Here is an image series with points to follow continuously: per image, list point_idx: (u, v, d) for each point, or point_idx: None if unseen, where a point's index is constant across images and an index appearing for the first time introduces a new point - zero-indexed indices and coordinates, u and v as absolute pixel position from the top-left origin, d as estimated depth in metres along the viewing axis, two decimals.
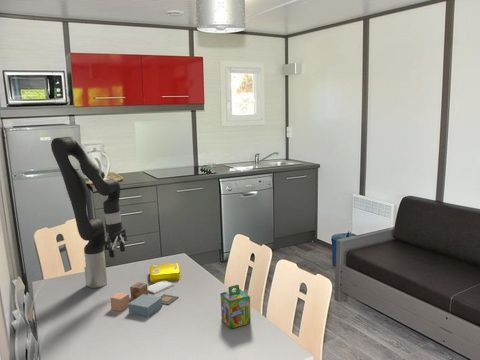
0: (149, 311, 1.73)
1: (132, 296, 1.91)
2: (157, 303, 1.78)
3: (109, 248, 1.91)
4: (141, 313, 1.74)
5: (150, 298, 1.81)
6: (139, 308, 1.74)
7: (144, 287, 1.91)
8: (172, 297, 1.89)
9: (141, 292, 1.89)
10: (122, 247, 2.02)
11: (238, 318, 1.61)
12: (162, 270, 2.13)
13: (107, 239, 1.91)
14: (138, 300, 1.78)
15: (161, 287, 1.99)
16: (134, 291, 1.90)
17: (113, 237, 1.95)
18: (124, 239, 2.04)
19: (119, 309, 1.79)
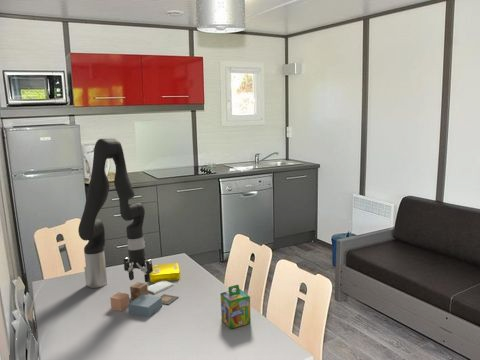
0: (149, 311, 1.73)
1: (132, 296, 1.91)
2: (157, 303, 1.79)
3: (152, 270, 1.89)
4: (141, 313, 1.74)
5: (149, 298, 1.81)
6: (139, 308, 1.74)
7: (144, 287, 1.91)
8: (172, 297, 1.89)
9: (141, 292, 1.89)
10: (132, 275, 1.93)
11: (238, 318, 1.61)
12: (162, 270, 2.13)
13: (150, 261, 1.88)
14: (138, 301, 1.78)
15: (161, 287, 1.99)
16: (134, 291, 1.90)
17: None
18: (128, 267, 1.94)
19: (119, 309, 1.79)
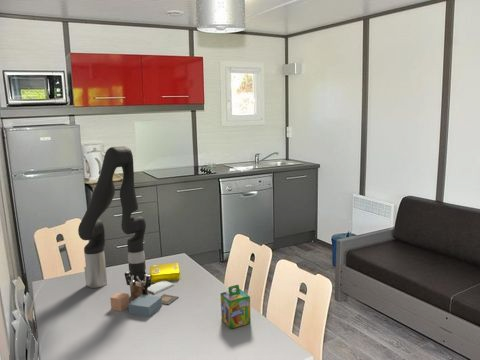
0: (150, 311, 1.73)
1: (132, 296, 1.91)
2: (157, 302, 1.79)
3: (150, 284, 1.91)
4: (142, 313, 1.74)
5: (149, 298, 1.81)
6: (139, 308, 1.74)
7: None
8: (172, 297, 1.89)
9: (141, 292, 1.89)
10: None
11: (238, 318, 1.61)
12: (162, 270, 2.13)
13: (150, 277, 1.89)
14: (138, 301, 1.78)
15: (161, 287, 1.99)
16: (134, 290, 1.90)
17: None
18: (131, 281, 1.94)
19: (119, 309, 1.79)
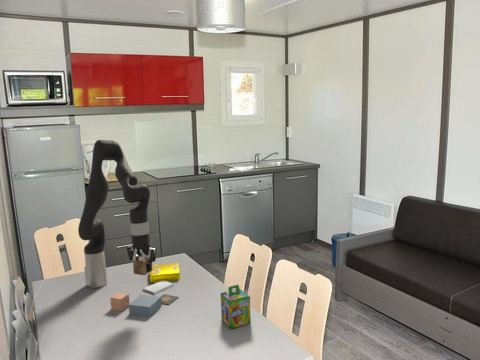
0: (151, 311, 1.74)
1: (135, 271, 1.75)
2: (157, 302, 1.79)
3: (155, 259, 1.74)
4: (142, 313, 1.74)
5: (149, 298, 1.81)
6: (140, 308, 1.74)
7: None
8: (172, 297, 1.89)
9: (145, 267, 1.73)
10: None
11: (238, 318, 1.61)
12: (162, 270, 2.13)
13: (155, 250, 1.73)
14: (138, 301, 1.78)
15: (161, 287, 1.99)
16: (138, 265, 1.74)
17: None
18: (133, 256, 1.78)
19: (119, 309, 1.79)
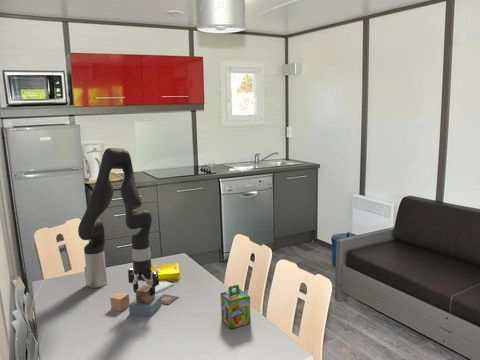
0: (151, 310, 1.74)
1: (138, 300, 1.77)
2: (157, 302, 1.79)
3: (158, 283, 1.76)
4: (143, 313, 1.74)
5: None
6: (140, 308, 1.74)
7: None
8: (172, 297, 1.89)
9: (147, 296, 1.75)
10: (137, 287, 1.80)
11: (238, 318, 1.61)
12: (162, 270, 2.13)
13: (157, 274, 1.74)
14: None
15: (160, 287, 1.99)
16: (140, 294, 1.76)
17: None
18: (133, 279, 1.80)
19: (119, 309, 1.79)
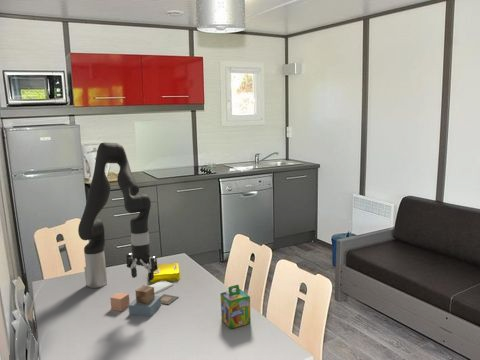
0: (151, 311, 1.74)
1: (138, 300, 1.77)
2: (157, 302, 1.79)
3: (157, 268, 1.74)
4: (143, 313, 1.74)
5: None
6: (140, 308, 1.74)
7: (150, 291, 1.77)
8: (172, 297, 1.89)
9: (147, 296, 1.75)
10: (135, 272, 1.78)
11: (238, 318, 1.61)
12: (162, 270, 2.13)
13: (155, 258, 1.73)
14: None
15: (160, 287, 1.99)
16: (140, 294, 1.76)
17: None
18: (131, 263, 1.79)
19: (119, 309, 1.79)
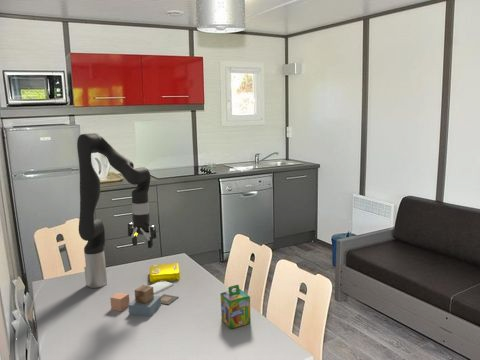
0: (151, 310, 1.74)
1: (137, 300, 1.77)
2: (157, 302, 1.79)
3: None
4: (143, 313, 1.74)
5: None
6: (140, 308, 1.74)
7: (150, 290, 1.77)
8: (172, 297, 1.89)
9: (146, 296, 1.75)
10: (136, 240, 1.92)
11: (238, 318, 1.61)
12: (162, 270, 2.13)
13: (154, 227, 1.86)
14: None
15: (160, 287, 1.99)
16: (139, 294, 1.76)
17: None
18: (132, 232, 1.92)
19: (119, 309, 1.79)
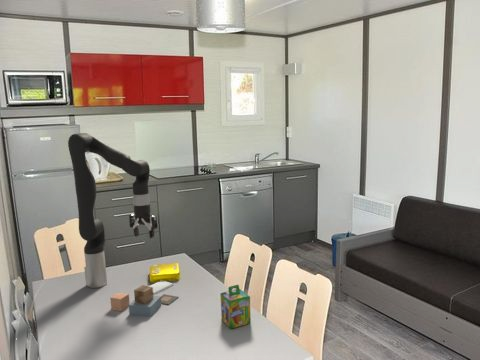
0: (151, 310, 1.74)
1: (136, 300, 1.77)
2: (157, 302, 1.79)
3: (157, 226, 1.94)
4: (143, 313, 1.74)
5: None
6: (140, 308, 1.74)
7: (149, 291, 1.77)
8: (172, 297, 1.89)
9: (146, 296, 1.75)
10: (137, 231, 1.98)
11: (238, 318, 1.61)
12: (162, 270, 2.13)
13: (155, 217, 1.92)
14: None
15: (160, 287, 1.99)
16: (139, 294, 1.76)
17: None
18: (133, 224, 1.98)
19: (119, 309, 1.79)
